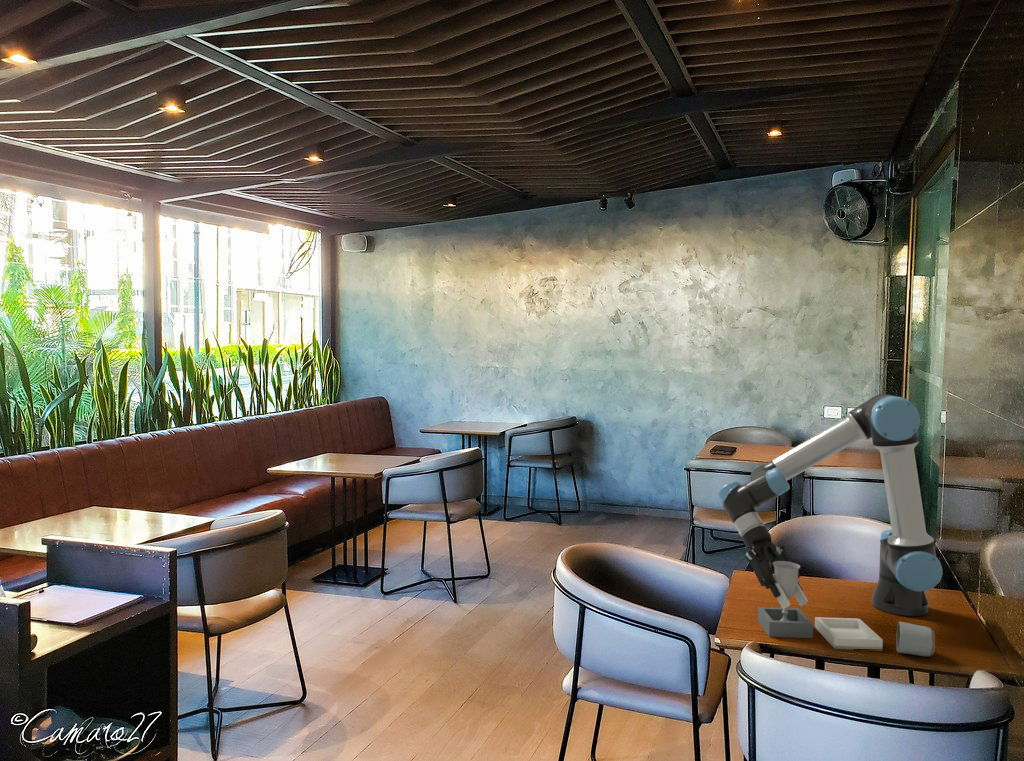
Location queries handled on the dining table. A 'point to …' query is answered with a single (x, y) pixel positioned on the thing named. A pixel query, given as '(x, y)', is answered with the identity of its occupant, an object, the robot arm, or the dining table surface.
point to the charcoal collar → (785, 623)
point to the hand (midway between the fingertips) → (795, 605)
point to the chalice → (786, 579)
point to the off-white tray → (848, 633)
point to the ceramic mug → (915, 639)
